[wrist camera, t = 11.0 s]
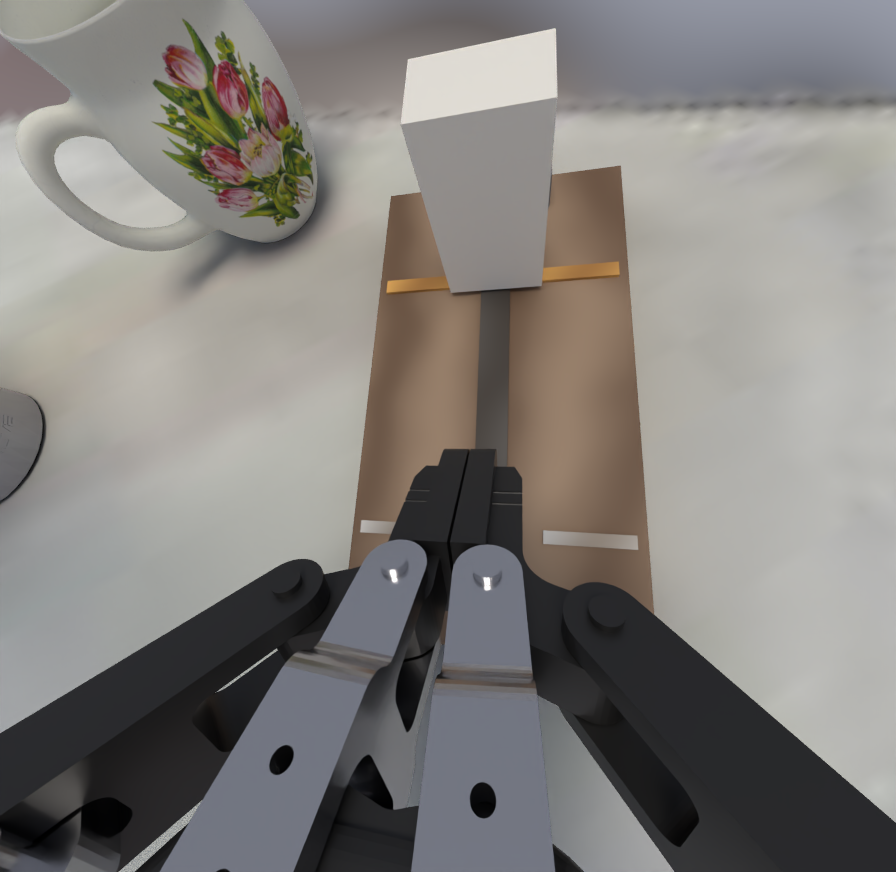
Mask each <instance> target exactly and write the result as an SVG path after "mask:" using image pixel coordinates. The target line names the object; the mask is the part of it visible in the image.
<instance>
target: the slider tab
mask: <svg viewBox="0 0 896 872" xmlns="http://www.w3.org/2000/svg"><path fill="white" fill-rule="evenodd" d="M556 64H557V63H556V28H554V29H550V30H545V31H540V32H535V33H531V34H526V35H521V36H516V37H512V38H507V39H502V40H498V41H493V42H488V43H483V44H479V45H474V46H469V47H465V48H460V49H455V50H451V51H446V52H441V53H436V54H431V55H426V56H422V57H417V58H413V59H408V65H407V74H406V82H405V92H404V100H403V109H402V118H401V127H402V130H403V134H404V137H405V140H406V144H407V147H408V150H409V154H410V157H411V161H412V164H413V167H414V171H415V174H416V177H417V181H418V184H419V187H420V191H421V194H422V197H423V201H424V204H425V208H426V211H427V214H428V218H429V221H430V224H431V228H432V231H433V234H434V238H435V241H436V244H437V248H438V251H439V255H440V258H441V261H442V265H443V268H444V271H445V275H446V278H447V281H448V285H449V288H450V291H451V293H454V292H468V291H481V290H495V289H508V288H522V287H535V286H542V276H543V263H544V251H545V239H546V227H547V215H548V203H549V191H550V179H551V167H552V155H553V143H554V131H555V119H556V107H557V65H556Z"/></svg>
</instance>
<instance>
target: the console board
mask: <svg viewBox="0 0 896 872" xmlns="http://www.w3.org/2000/svg"><path fill="white" fill-rule="evenodd" d="M444 449H470V450H471V449H496V450H497V466H500V467H515V468H516V470H517V471H518V473H519V474H520V476H521V477H522V520H523V556H524V559H525V561H526V563H527V565H528V566H529V568H530V569H531V570H532V571H533V572H534V573H535V574H536V575H537V576H539V577H540V578H541V579H543V580H545V581H547V582H549V583H551V584H554V585H556V586H559V587H562V588H565V589H567V590H570V591H571V590H572V589H573V588H575V587H576V586H578V585H580V584H584V583H588V582H601V583H607V584H610V585H614V586H616V587H618V588H621V589H622V590H624V591H626V592H627V593H629V594H630V595H631V596H633V597H634V598H635V599H636V600H638V601H639V602H640V603H641V604H642V605H643V606H644V607H646V608H647V609H648V610H649V611H650V612H651V613H653V614H654V607H653V594H652V580H651V567H650V554H649V540H648V527H647V513H646V500H645V487H644V473H643V460H642V446H641V433H640V420H639V406H638V393H637V379H636V366H635V352H634V339H633V326H632V312H631V299H630V285H629V272H628V259H627V245H626V232H625V218H624V205H623V192H622V178H621V166H615V167H607V168H600V169H592V170H585V171H577V172H570V173H562V174H555V175H552V167H551V179H550V191H549V203H548V215H547V227H546V239H545V251H544V263H543V276H542V286H535V287H522V288H508V289H495V290H481V291H468V292H454V293H451V291H450V288H449V285H448V281H447V278H446V275H445V271H444V268H443V265H442V261H441V258H440V255H439V251H438V248H437V244H436V241H435V238H434V234H433V231H432V228H431V224H430V221H429V218H428V214H427V211H426V208H425V204H424V201H423V197H422V194H421V192H420V193H412V194H405V195H397V196H391V202H390V210H389V219H388V228H387V237H386V245H385V254H384V263H383V272H382V280H381V289H380V298H379V307H378V315H377V324H376V333H375V342H374V350H373V359H372V368H371V377H370V385H369V394H368V403H367V412H366V421H365V429H364V438H363V447H362V456H361V464H360V473H359V482H358V491H357V499H356V508H355V517H354V526H353V534H352V543H351V552H350V561H349V569H352V568H356V567H359V566H361V565H362V563H363V561H364V560H365V558H366V557H367V555H368V554H369V553H370V552H371V551H372V550H373V549H375V548H376V547H378V546H379V545H381V544H383V543H386V542H388V540H389V537H390V535H391V533H392V530H393V528H394V525H395V523H396V520H397V518H398V516H399V513H400V511H401V508H402V506H403V503H404V502H405V499H406V496H407V494H408V491H410V486H411V484H412V482H413V479H414V477H415V475H417V474H418V473H419V472H420V471H421V470H422V469H423V468H424V467H425V466H426V465H428V466H438V464H439V461H440V458H441V455H442V452H443V450H444ZM447 619H448V611H445V614H444V619H443V625H442V630H441V635H442V642H441V644H443V645H445V638H446V628H447Z"/></svg>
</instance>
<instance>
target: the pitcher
mask: <svg viewBox="0 0 896 872" xmlns="http://www.w3.org/2000/svg"><path fill="white" fill-rule="evenodd" d="M0 34H1V35H2V36H3V37H4V38H5V39H6V40H7V41H9V42H10V43H11V44H12V45H13V46H15V47H16V48H17V49H19V50H20V51H21V52H23V53H24V54H25V55H27V56H28V57H29V58H31V59H32V60H33V61H35V62H36V63H37V64H39V65H40V66H42V67H43V68H44V69H45V70H47V71H48V72H49V73H50V74H52V75H53V76H54V77H55V78H57V79H58V80H59V81H60V82H62V83H63V84H64V85H65V86H66V87H68V88H69V89H70V92H71V96H70V98H69V100H68V102H66V103H65V104H62V105H55V106H49V107H45V108H41V109H38V110H36V111H34V112H32V113H30V114H28V115H27V116H26V117H25V118H24V119H23V120H22V121H21V122H20V123H19V126H18V129H17V132H16V135H15V136H16V149H17V152H18V154H19V157H20V160H21V162H22V165H23V166H24V168H25V169H26V171H27V173H28V174H29V176H30V177H31V179H32V181H33V182H34V183H35V184H36V185H37V187H38V188H39V189H40V190H41V191H42V192H43V193H44V195H45V196H46V197H47V198H48V199H49V200H50V201H52V202H53V203H54V204H55V205H56V206H57V207H58V208H59V209H61V210H62V211H63V212H64V213H65V214H66V215H67V216H69V217H70V218H72V219H73V220H74V221H76V222H77V223H79V224H80V225H82V226H83V227H84V228H86V229H87V230H89V231H91V232H93V233H94V234H96V235H98V236H100V237H101V238H103V239H105V240H107V241H110V242H112V243H115V244H117V245H120V246H123V247H127V248H131V249H135V250H143V251H167V250H174V249H178V248H181V247H184V246H186V245H189V244H191V243H193V242H195V241H197V240H199V239H201V238H202V237H204V236H206V235H208V234H209V233H211V232H214V231H217V230H222V231H224V232H226V233H228V234H231V235H234V236H237V237H240V238H242V239H248V240H254V241H257V242H262V243H270V242H275V241H279V240H282V239H284V238H286V237H288V236H290V235H292V234H293V233H295V232H296V231H297V230H299V229H300V228H301V227H302V226H303V225H304V224H305V223H306V221H307V220H308V219H309V217H310V216H311V214H312V212H313V210H314V207H315V204H316V191H317V164H316V158H315V153H314V147H313V143H312V139H311V134H310V131H309V127H308V124H307V121H306V117H305V114H304V112H303V109H302V106H301V104H300V101H299V99H298V96H297V93H296V91H295V88H294V86H293V84H292V82H291V79H290V77H289V75H288V73H287V71H286V69H285V67H284V65H283V63H282V61H281V59H280V57H279V55H278V53H277V51H276V49H275V48H274V46H273V44H272V43H271V41H270V39H269V37H268V36H267V34H266V32H265V31H264V29H263V27H262V26H261V24H260V23H259V21H258V20H257V18H256V17H255V15H254V14H253V12H252V11H251V10H250V9H249V7H248V6H247V5H246V3H245V2H244V1H243V0H0ZM79 136H90V137H95V138H100V139H105V140H106V141H108V142H110V143H111V144H112V146H113V147H114V148H115V149H116V150H117V152H118V153H119V154H120V155H121V156H122V157H123V158H124V159H125V160H126V161H127V162H128V163H129V164H130V165H131V166H132V167H133V168H134V169H135V170H136V171H137V172H138V173H139V174H140V175H141V176H142V177H143V178H144V179H145V180H147V181H148V182H149V183H150V184H151V185H152V186H154V187H155V188H156V189H157V190H158V191H160V192H161V193H162V194H163V195H165V196H166V197H168V198H169V199H170V200H172V201H173V202H174V203H176V204H177V205H179V206H180V207H182V208H183V209H185V210H186V212H187V215H186V216H185V218H183V219H182V220H181V221H179V222H177V223H175V224H172V225H169V226H164V227H156V228H135V227H129V226H125V225H121V224H118V223H116V222H114V221H111V220H109V219H107V218H105V217H104V216H102V215H100V214H99V213H97V212H95V211H94V210H92V209H91V208H90V207H88V206H87V205H86V204H84V203H83V202H82V201H80V200H79V199H78V198H77V197H76V196H75V195H74V194H73V193H72V192H71V191H70V190H69V188H68V187H67V186H66V184H65V183H64V182H63V181H62V179H61V177H60V176H59V174H58V172H57V169H56V166H55V163H54V154H55V151H56V149H57V147H58V146H59V145H60V144H61V143H62V142H64V141H65V140H68V139H71V138H74V137H79Z"/></svg>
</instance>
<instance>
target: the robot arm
mask: <svg viewBox="0 0 896 872" xmlns="http://www.w3.org/2000/svg"><path fill="white" fill-rule="evenodd" d="M42 427H43V425H42V417H41V413H40V410H39V408H38V405H37V404H36V403H35V402H34V400H33V399H32V398H30V397H29V396H27V395H25V394H21V393H18V392H14V391H11V390H7V389H3V388H0V501H1V500H2V499H4V498H5V497H7V496H8V495H9V494H10V493H11V492H12V491H13V490H14V489H15V488H16V487H17V486H18V485H19V483H20V482H21V481H22V480H23V478H24V477H25V476H26V474H27V473H28V471H29V469H30V467H31V466H32V464H33V462H34V460H35V457H36V455H37V452H38V450H39V446H40V442H41V438H42ZM445 611H448V619H447V628H446V638H445V647H444V657H443V665H442V670H441V673H440V674H438V675H437V677H436V680H435V684H434V689H433V695H432V702H431V710H430V718H429V727H428V735H427V743H426V752H425V760H424V769H423V777H422V785H421V794H420V802H419V806H415V807H408V808H406V807H407V803H408V799H409V795H410V791H411V786H412V781H413V775H414V767H415V749H416V741H417V735H418V731H419V727H420V723H421V719H422V716H423V712H424V708H425V704H426V701H427V697H428V693H429V689H430V685H431V682H432V678H433V674H434V670H435V666H436V663H437V659H438V655H439V651H440V647H441V642H442V635H441V630H442V625H443V619H444V614H445ZM276 648H277V649H278V651H276V652H275V653H274V654H272V655H271V656H269V657H268V658H267V659H265V660H264V661H263V662H261V663H260V664H259V665H257V666H256V667H254V668H253V669H252V670H250V671H249V672H248V673H246V674H245V675H243V676H242V677H241V678H239V679H238V680H237V681H235V682H234V683H232V684H231V685H230V686H228V687H227V688H225V689H223V690H221V691H219V692H217V691H218V690H219V689H221V688H222V687H223V686H225V685H226V684H228V683H229V682H230V681H232V680H233V679H235V678H236V677H237V676H239V675H240V674H241V673H243V672H244V671H246V670H247V669H248V668H250V667H251V666H252V665H254V664H255V663H257V662H258V661H259V660H261V659H262V658H264V657H265V656H266V655H268V654H269V653H270V652H272V651H273V650H275V649H276ZM215 692H216V693H215ZM537 695H538V696H540V697H542V698H544V699H546V700H548V701H550V702H552V703H554V704H556V705H557V706H559V708H560V710H561V712H562V714H563V716H564V717H565V719H566V720H567V722H568V723H569V724H570V726H571V727H572V729H573V730H574V731H575V733H576V734H577V736H578V737H579V738H580V740H581V741H582V743H583V744H584V745H585V747H586V748H587V750H588V751H589V752H590V754H591V755H592V757H593V758H594V759H595V761H596V762H597V764H598V765H599V766H600V768H601V769H602V771H603V772H604V773H605V775H606V776H607V778H608V779H609V780H610V782H611V783H612V785H613V786H614V787H615V789H616V790H617V792H618V793H619V794H620V796H621V797H622V799H623V800H624V802H625V803H626V804H627V806H628V807H629V809H630V810H631V811H632V813H633V814H634V816H635V817H636V818H637V820H638V821H639V823H640V824H641V825H642V827H643V828H644V830H645V831H646V832H647V834H648V835H649V837H650V838H651V839H652V841H653V842H654V844H655V845H656V846H657V848H658V849H659V851H660V852H661V853H662V855H663V856H664V858H665V859H666V860H667V862H668V863H669V865H670V866H671V867H672V869H673V870H674V872H896V823H895V822H894V821H893V820H892V819H891V818H890V817H888V816H887V815H886V814H885V813H884V812H883V811H881V810H880V809H879V808H878V807H877V806H876V805H874V804H873V803H872V802H871V801H870V800H869V799H867V798H866V797H865V796H864V795H863V794H862V793H860V792H859V791H858V790H857V789H856V788H855V787H854V786H852V785H851V784H850V783H849V782H848V781H847V780H845V779H844V778H843V777H842V776H841V775H840V774H838V773H837V772H836V771H835V770H834V769H833V768H831V767H830V766H829V765H828V764H827V763H826V762H824V761H823V760H822V759H821V758H820V757H819V756H818V755H816V754H815V753H814V752H813V751H812V750H811V749H809V748H808V747H807V746H806V745H805V744H804V743H802V742H801V741H800V740H799V739H798V738H797V737H795V736H794V735H793V734H792V733H791V732H790V731H788V730H787V729H786V728H785V727H784V726H783V725H782V724H780V723H779V722H778V721H777V720H776V719H775V718H773V717H772V716H771V715H770V714H769V713H768V712H766V711H765V710H764V709H763V708H762V707H761V706H759V705H758V704H757V703H756V702H755V701H754V700H752V699H751V698H750V697H749V696H748V695H747V694H746V693H744V692H743V691H742V690H741V689H740V688H739V687H737V686H736V685H735V684H734V683H733V682H732V681H730V680H729V679H728V678H727V677H726V676H725V675H723V674H722V673H721V672H720V671H719V670H718V669H716V668H715V667H714V666H713V665H712V664H711V663H710V662H708V661H707V660H706V659H705V658H704V657H703V656H701V655H700V654H699V653H698V652H697V651H696V650H694V649H693V648H692V647H691V646H690V645H689V644H687V643H686V642H685V641H684V640H683V639H682V638H680V637H679V636H678V635H677V634H676V633H675V632H674V631H672V630H671V629H670V628H669V627H668V626H667V625H665V624H664V623H663V622H662V621H661V620H660V619H658V618H657V617H656V616H655V615H654V614H653V613H651V612H650V611H649V610H648V609H647V608H646V607H644V606H643V605H642V604H641V603H640V602H639V601H638V600H636V599H635V598H634V597H633V596H631V595H630V594H629V593H627V592H626V591H624V590H622V589H621V588H618V587H616V586H614V585H610V584H607V583H601V582H588V583H584V584H580V585H578V586H576V587H575V588H573V589H572V590H571V591H570V590H567V589H565V588H562V587H559V586H556V585H554V584H551V583H549V582H547V581H545V580H543V579H541V578H540V577H539V576H537V575H536V574H535V573H534V572H533V571H532V570H531V569H530V568H529V566H528V565H527V563H526V561H525V559H524V556H523V520H522V477H521V476H520V474H519V473H518V471H517V470H516V468H515V467H500V466H497V450H496V449H471V450H470V449H444V450H443V452H442V455H441V458H440V461H439V464H438V466H428V465H426V466H425V467H424V468H423V469H422V470H421V471H420V472H419V473H418V474H417V475H415V477H414V479H413V482H412V484H411V486H410V491H408V494H407V496H406V499H405V502H404V503H403V506H402V508H401V511H400V513H399V516H398V518H397V520H396V523H395V525H394V528H393V530H392V533H391V535H390V537H389V540H388V542H386V543H383V544H381V545H379V546H378V547H376V548H375V549H373V550H372V551H371V552H370V553H369V554H368V555H367V557H366V558H365V560H364V561H363V563H362V565H361V566H359V567H356V568H352V569H348V570H343V571H338V572H333V573H329V574H324V573H323V571H322V569H321V567H320V566H319V565H318V564H317V563H316V562H314V561H312V560H308V559H297V560H292V561H289V562H286V563H284V564H282V565H280V566H278V567H276V568H274V569H273V570H271V571H269V572H268V573H266V574H264V575H263V576H261V577H259V578H258V579H256V580H254V581H253V582H251V583H249V584H248V585H246V586H244V587H243V588H241V589H239V590H238V591H236V592H234V593H233V594H231V595H230V596H228V597H226V598H225V599H223V600H221V601H220V602H218V603H216V604H215V605H213V606H211V607H210V608H208V609H206V610H205V611H203V612H201V613H200V614H198V615H196V616H195V617H193V618H191V619H190V620H188V621H186V622H185V623H183V624H181V625H180V626H178V627H176V628H175V629H173V630H171V631H170V632H168V633H166V634H165V635H163V636H161V637H160V638H158V639H156V640H155V641H153V642H151V643H150V644H148V645H146V646H145V647H143V648H141V649H140V650H138V651H137V652H135V653H133V654H132V655H130V656H128V657H127V658H125V659H123V660H122V661H120V662H118V663H117V664H115V665H113V666H112V667H110V668H108V669H107V670H105V671H103V672H102V673H100V674H98V675H97V676H95V677H93V678H92V679H90V680H88V681H87V682H85V683H83V684H82V685H80V686H78V687H77V688H75V689H73V690H72V691H70V692H68V693H67V694H65V695H63V696H62V697H60V698H58V699H57V700H55V701H53V702H52V703H50V704H48V705H47V706H45V707H43V708H42V709H40V710H39V711H37V712H35V713H34V714H32V715H30V716H29V717H27V718H25V719H24V720H22V721H20V722H19V723H17V724H15V725H14V726H12V727H10V728H9V729H7V730H5V731H4V732H2V733H0V872H118V871H120V870H121V869H122V868H123V867H124V866H125V865H127V864H128V863H129V862H130V861H131V860H132V859H134V858H135V857H136V856H137V855H138V854H139V853H141V852H142V851H143V850H144V849H145V848H147V847H148V846H149V845H150V844H151V843H152V842H154V841H155V840H156V839H157V838H158V837H159V836H161V835H162V834H163V833H164V832H165V831H166V830H168V829H169V828H170V827H171V826H172V825H173V824H175V823H176V822H177V821H178V820H179V819H180V818H182V817H183V816H184V815H185V814H186V813H187V812H189V811H190V810H191V809H192V808H193V807H194V806H196V805H197V804H198V803H199V802H200V801H201V800H202V802H201V804H200V805H199V807H198V809H197V810H196V812H195V814H194V815H193V817H192V819H191V820H190V822H189V823H188V824H187V825H186V826H185V827H184V828H183V829H181V830H180V831H179V832H178V833H177V834H176V835H175V836H174V837H172V838H171V839H170V840H169V841H168V842H167V843H166V844H165V845H164V846H163V847H161V848H160V849H159V850H158V851H157V852H156V853H155V854H154V855H153V856H152V857H150V858H149V859H148V860H147V861H146V862H145V863H144V864H143V865H142V866H141V867H140V868H138V869H137V870H136V871H135V872H584V871H583V870H582V869H581V868H580V867H579V866H578V865H577V864H576V863H575V862H574V861H573V860H572V859H571V858H570V857H569V856H567V855H566V854H565V853H564V852H562V851H561V850H560V849H559V848H557V847H556V846H555V845H554V844H552V836H551V826H550V816H549V806H548V796H547V787H546V777H545V767H544V757H543V747H542V737H541V727H540V718H539V708H538V699H537Z"/></svg>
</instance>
